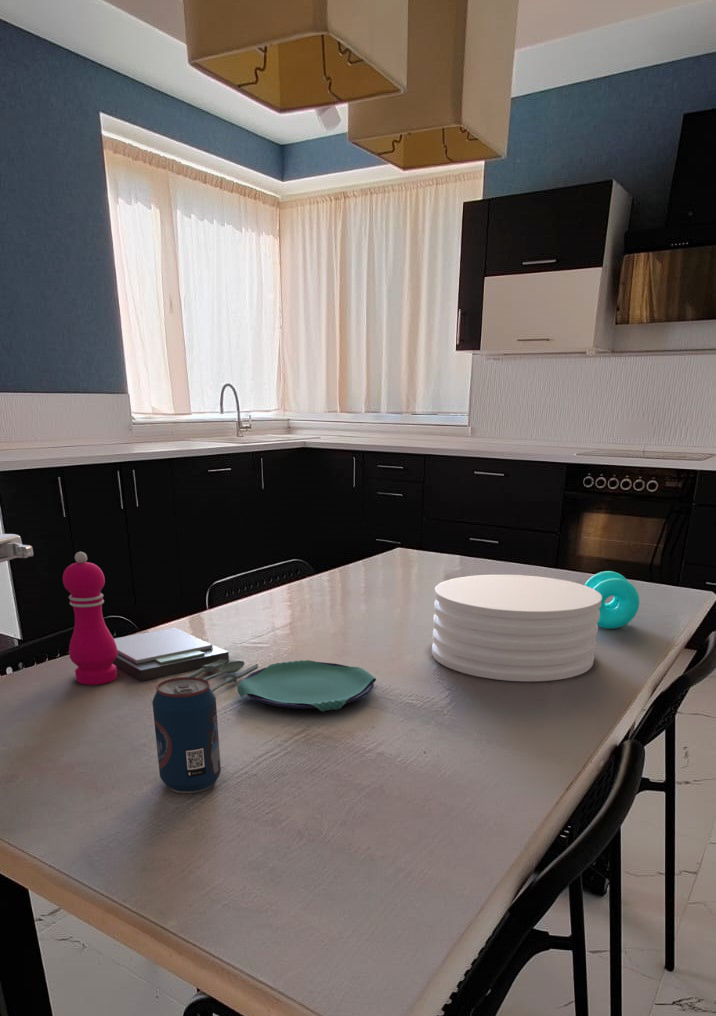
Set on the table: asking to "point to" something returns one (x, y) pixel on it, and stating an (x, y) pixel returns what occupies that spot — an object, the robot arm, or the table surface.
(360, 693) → the cutlery set
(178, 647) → the kitchen scale
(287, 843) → the table surface
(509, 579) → the plate stack
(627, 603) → the donuts
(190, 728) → the soda can
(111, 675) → the pepper mill
